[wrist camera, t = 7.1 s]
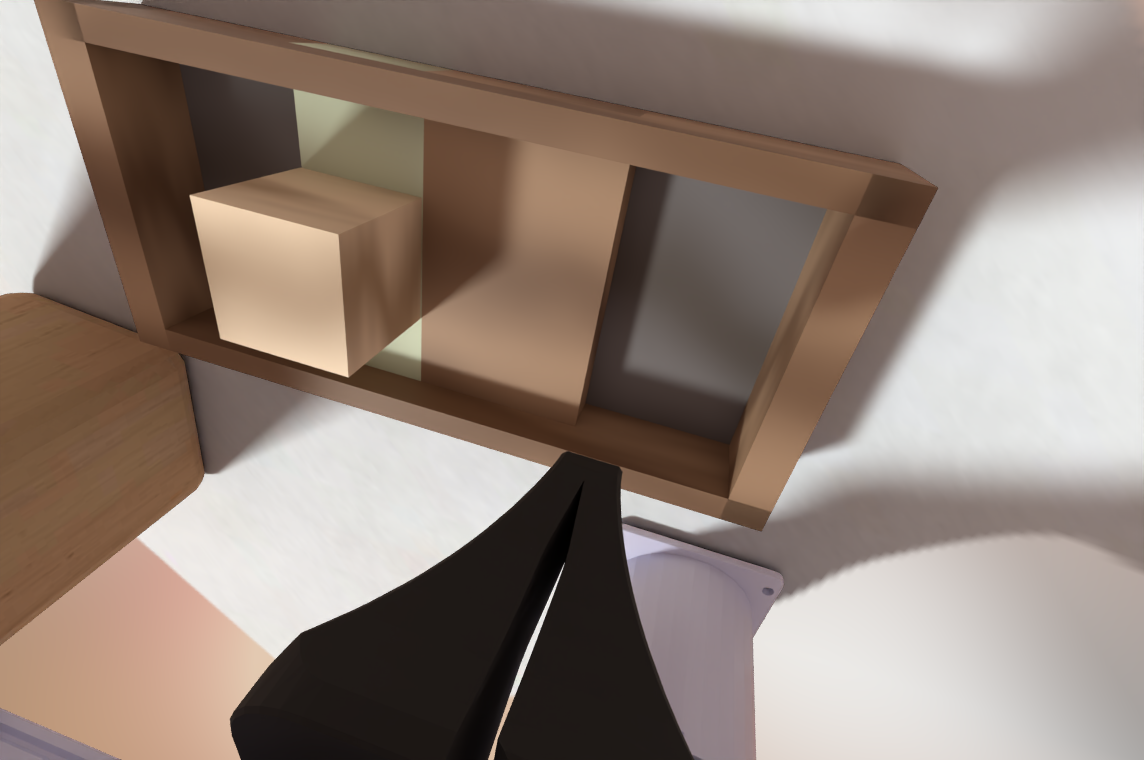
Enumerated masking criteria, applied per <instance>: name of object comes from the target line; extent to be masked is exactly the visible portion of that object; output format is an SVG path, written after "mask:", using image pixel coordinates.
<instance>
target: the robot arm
mask: <svg viewBox="0 0 1144 760" xmlns="http://www.w3.org/2000/svg"><path fill="white" fill-rule="evenodd" d="M622 473H623V472H622V470H621V468H620V467H619V466H616V465H612V464H609V463H606V462H603V461H599V460H596V459H593V458H589V457H586V456H583V455H579V454H576V453H573V452H569V451H566V452H564V453H562V454H561V455H560V457H559V458H558V460H557V461H556V462H555V463H554V465H553V466H552V467H551V468H550V469H549V470H548V472H547V473H546V474H545V475H544V476H543V477H542V478H541V479H540V480H539V481H538V482H537V483H536V485H535V486H534V487H533V488H532V489H530V490H529V491H528V492H527V493H526V494H525V495H524V496H523V497H522V498H521V499H520V500H519V501H518V502H517V503H516V504H515V505H514V506H513V507H512V508H510V509H509V510H508V511H507V512H506V513H505V514H503V515H502V516H501V517H500V518H499V519H498V520H496V521H495V522H494V523H493V524H492V525H490V526H489V527H488V528H487V529H486V530H484V531H483V532H482V533H481V534H479V535H478V536H477V537H475V538H474V539H473V540H471V541H470V542H469V543H467V544H466V545H464V546H463V547H462V548H460V549H459V550H457V551H456V552H455V553H453V554H452V555H450V556H449V557H447V558H446V559H444V560H443V561H441V562H439V563H438V564H436V565H435V566H433V567H432V568H430V569H428V570H427V571H425V572H424V573H422V574H420V575H419V576H417V577H415V578H414V579H412V580H410V581H408V582H407V583H405V584H403V585H401V586H399V587H397V588H395V589H393V590H392V591H390V592H388V593H386V594H384V595H382V596H380V597H378V598H376V599H375V600H373V601H371V602H369V603H367V604H365V605H363V606H361V607H359V608H357V609H355V610H352V611H350V612H348V613H345V614H343V615H341V616H339V617H336V618H334V619H332V620H330V621H327V622H325V623H323V624H321V625H318V626H316V627H314V628H311V629H309V630H307V631H304V632H302V633H301V634H300V635H299V636H298V637H297V638H295V639H294V641H293V642H292V643H291V644H290V645H289V646H288V647H287V648H286V649H285V650H284V651H283V652H282V653H281V654H280V655H279V656H278V657H277V658H276V659H275V660H274V661H273V662H272V663H271V664H270V666H269V667H268V668H267V669H266V671H265V672H264V673H263V674H262V676H261V677H260V678H259V679H258V681H257V682H256V683H255V685H254V686H253V687H252V688H251V690H250V691H249V692H248V694H247V695H246V696H245V698H244V699H243V700H242V701H241V703H240V704H239V705H238V707H237V708H236V710H235V711H234V712H233V714H232V716H231V718H230V725H231V732H232V737H233V740H234V742H235V745H236V748H237V750H238V753H239V756H240V758H241V760H488V758H489V755H490V752H491V749H492V746H493V743H494V740H495V737H496V734H497V731H498V728H499V725H500V722H501V719H502V716H503V713H504V710H505V707H506V704H507V701H508V698H509V696H510V693H511V690H512V687H513V684H514V681H515V678H516V675H517V672H518V669H519V666H520V664H521V661H522V659H523V656H524V654H525V651H526V649H527V646H528V644H529V642H530V639H531V637H532V635H533V633H534V630H535V628H536V626H537V624H538V621H539V619H540V617H541V615H542V612H543V610H544V608H545V606H546V603H547V601H548V599H549V597H550V594H551V592H552V590H553V588H554V585H555V583H556V581H557V578H558V576H559V574H560V572H561V569H562V567H563V565H564V568H563V570H562V573H561V576H560V579H559V581H558V584H557V587H556V590H555V592H554V595H553V598H552V601H551V603H550V606H549V609H548V611H547V614H546V617H545V619H544V622H543V625H542V628H541V630H540V633H539V635H538V638H537V641H536V643H535V646H534V649H533V651H532V654H531V656H530V659H529V662H528V664H527V667H526V669H525V672H524V675H523V677H522V680H521V682H520V685H519V687H518V690H517V692H516V695H515V697H514V700H513V702H512V705H511V707H510V710H509V712H508V715H507V718H506V720H505V722H504V725H503V727H502V730H501V732H500V735H499V737H498V741H497V746H496V752H495V757H494V760H756V740H755V704H754V666H753V637H754V635H755V634H756V632H757V630H758V629H759V627H760V625H761V623H762V622H763V620H764V619H765V617H766V615H767V613H768V612H769V610H770V608H771V607H772V605H773V603H774V602H775V600H776V598H777V597H778V595H779V593H780V592H781V590H782V588H783V586H784V581H783V577H782V575H781V574H780V573H778V572H776V571H773V570H770V569H766V568H763V567H760V566H757V565H754V564H751V563H747V562H744V561H741V560H738V559H735V558H732V557H728V556H725V555H722V554H719V553H716V552H712V551H709V550H706V549H703V548H700V547H697V546H693V545H690V544H687V543H684V542H681V541H678V540H674V539H671V538H668V537H665V536H662V535H658V534H655V533H652V532H649V531H646V530H643V529H639V528H636V527H633V526H630V525H627V524H622V519H621V479H622ZM564 563H565V564H564ZM766 587H768V588H766ZM0 760H120V759H118V758H115V757H113V756H111V755H109V754H106V753H104V752H102V751H99V750H97V749H95V748H92V747H90V746H88V745H85V744H83V743H81V742H78V741H76V740H74V739H71V738H69V737H67V736H64V735H62V734H60V733H57V732H55V731H52V730H50V729H48V728H45V727H43V726H41V725H39V724H36V723H34V722H32V721H29V720H27V719H24V718H22V717H20V716H17V715H15V714H13V713H11V712H8V711H6V710H4V709H1V708H0Z"/></svg>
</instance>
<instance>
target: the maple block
mask: <svg viewBox="0 0 1144 760" xmlns="http://www.w3.org/2000/svg"><path fill="white" fill-rule="evenodd" d="M190 199H191V204H192V209H193V213H194V218H195V223H196V227H197V232H198V237H199V241H200V246H201V251H202V255H203V260H204V265H205V269H206V274H207V278H208V283H209V288H210V292H211V297H212V302H213V306H214V311H215V316H216V320H217V325H218V330H219V334H220V339H223V340H226V341H229V342H233V343H236V344H239V345H243V346H246V347H249V348H253V349H256V350H259V351H263V352H266V353H269V354H272V355H276V356H279V357H282V358H286V359H289V360H292V361H296V362H299V363H302V364H306V365H309V366H312V367H315V368H319V369H322V370H325V371H329V372H332V373H335V374H339V375H342V376H345V377H350V376H351V375H352V374H353V373H355V372H356V371H357V370H358V369H360V368H361V367H362V366H363V365H364V364H366V363H367V362H368V361H369V360H371V359H372V358H373V357H374V356H375V355H377V354H378V353H379V352H380V351H382V350H383V349H384V348H385V347H386V346H388V345H389V344H390V343H391V342H393V341H394V340H395V339H396V338H397V337H399V336H400V335H401V334H402V333H404V332H405V331H406V330H407V329H408V328H410V327H411V326H412V325H413V324H415V323H416V322H417V321H418V320H419V319H420V304H421V231H422V198H421V197H417V196H413V195H409V194H405V193H401V192H397V191H393V190H389V189H385V188H381V187H377V186H373V185H369V184H365V183H361V182H357V181H353V180H349V179H345V178H341V177H337V176H333V175H329V174H325V173H321V172H317V171H313V170H309V169H305V168H297V169H292V170H288V171H284V172H280V173H276V174H272V175H268V176H264V177H260V178H256V179H252V180H248V181H244V182H240V183H236V184H232V185H228V186H224V187H220V188H216V189H212V190H208V191H204V192H200V193H196V194H192V195H190Z"/></svg>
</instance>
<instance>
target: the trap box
mask: <svg viewBox="0 0 1144 760" xmlns="http://www.w3.org/2000/svg"><path fill="white" fill-rule="evenodd" d="M34 2H35V5H36V9H37V12H38V15H39V18H40V21H41V25H42V28H43V31H44V34H45V37H46V41H47V44H48V47H49V50H50V53H51V57H52V60H53V63H54V66H55V69H56V73H57V76H58V79H59V82H60V86H61V89H62V92H63V95H64V98H65V102H66V105H67V108H68V111H69V114H70V118H71V121H72V124H73V127H74V130H75V134H76V137H77V140H78V143H79V146H80V150H81V153H82V156H83V159H84V162H85V166H86V169H87V172H88V175H89V179H90V182H91V185H92V188H93V191H94V195H95V198H96V201H97V204H98V207H99V211H100V214H101V217H102V220H103V223H104V227H105V230H106V233H107V236H108V239H109V243H110V246H111V249H112V252H113V256H114V259H115V262H116V265H117V268H118V272H119V275H120V278H121V281H122V284H123V288H124V291H125V294H126V297H127V300H128V304H129V307H130V310H131V313H132V316H133V320H134V323H135V326H136V329H137V333H138V336H139V339H140V341H141V342H144V343H147V344H151V345H154V346H157V347H160V348H164V349H167V350H170V351H174V352H177V353H180V354H183V355H187V356H190V357H193V358H196V359H200V360H203V361H206V362H209V363H213V364H216V365H219V366H222V367H226V368H229V369H232V370H236V371H239V372H242V373H245V374H249V375H252V376H255V377H258V378H262V379H265V380H268V381H271V382H275V383H278V384H281V385H285V386H288V387H291V388H294V389H298V390H301V391H304V392H307V393H311V394H314V395H317V396H320V397H324V398H327V399H330V400H333V401H337V402H340V403H343V404H347V405H350V406H353V407H356V408H360V409H363V410H366V411H369V412H373V413H376V414H379V415H382V416H386V417H389V418H392V419H396V420H399V421H402V422H405V423H409V424H412V425H415V426H418V427H422V428H425V429H428V430H431V431H435V432H438V433H441V434H444V435H448V436H451V437H454V438H458V439H461V440H464V441H467V442H471V443H474V444H477V445H480V446H484V447H487V448H490V449H493V450H497V451H500V452H503V453H507V454H510V455H513V456H516V457H520V458H523V459H526V460H529V461H533V462H536V463H539V464H542V465H546V466H549V467H552V466H553V465H554V463H555V462H556V461H557V460H558V458H559V457H560V455H561V454H562V453H564V452H566V451H569V452H573V453H576V454H579V455H583V456H586V457H589V458H593V459H596V460H599V461H603V462H606V463H609V464H612V465H616V466H619V467H620V468H621V470H622V472H623V473H622V479H621V489H624V490H627V491H631V492H634V493H637V494H640V495H644V496H647V497H650V498H653V499H657V500H660V501H663V502H666V503H670V504H673V505H676V506H680V507H683V508H686V509H689V510H693V511H696V512H699V513H702V514H706V515H709V516H712V517H715V518H719V519H722V520H725V521H728V522H732V523H735V524H738V525H742V526H745V527H748V528H751V529H755V530H758V531H762V529H763V527H764V526H765V524H766V522H767V520H768V518H769V516H770V514H771V512H772V510H773V508H774V506H775V504H776V502H777V500H778V498H779V496H780V494H781V492H782V491H783V489H784V487H785V485H786V483H787V481H788V479H789V477H790V475H791V473H792V471H793V469H794V467H795V465H796V463H797V461H798V459H799V458H800V456H801V454H802V452H803V450H804V448H805V446H806V444H807V442H808V440H809V438H810V436H811V434H812V432H813V430H814V428H815V426H816V425H817V423H818V421H819V419H820V417H821V415H822V413H823V411H824V409H825V407H826V405H827V403H828V401H829V399H830V397H831V395H832V393H833V391H834V390H835V388H836V386H837V384H838V382H839V380H840V378H841V376H842V374H843V372H844V370H845V368H846V366H847V364H848V362H849V360H850V358H851V357H852V355H853V353H854V351H855V349H856V347H857V345H858V343H859V341H860V339H861V337H862V335H863V333H864V331H865V329H866V327H867V325H868V323H869V322H870V320H871V318H872V316H873V314H874V312H875V310H876V308H877V306H878V304H879V302H880V300H881V298H882V296H883V294H884V292H885V290H886V289H887V287H888V285H889V283H890V281H891V279H892V277H893V275H894V273H895V271H896V269H897V267H898V265H899V263H900V261H901V259H902V257H903V255H904V254H905V252H906V250H907V248H908V246H909V244H910V242H911V240H912V238H913V236H914V234H915V232H916V230H917V228H918V226H919V224H920V222H921V221H922V219H923V217H924V215H925V213H926V211H927V209H928V207H929V205H930V203H931V201H932V199H933V197H934V195H935V193H936V191H937V189H938V187H936V186H935V185H933V184H931V183H930V182H928V181H927V180H925V179H924V178H922V177H921V176H919V175H917V174H916V173H914V172H913V171H911V170H910V169H908V168H906V167H905V166H903V165H902V164H898V163H894V162H889V161H884V160H879V159H875V158H870V157H865V156H860V155H856V154H851V153H846V152H841V151H837V150H832V149H827V148H822V147H818V146H813V145H808V144H803V143H799V142H794V141H789V140H784V139H780V138H775V137H770V136H765V135H761V134H756V133H751V132H746V131H741V130H737V129H732V128H727V127H722V126H718V125H713V124H708V123H703V122H699V121H694V120H689V119H684V118H680V117H675V116H670V115H665V114H661V113H656V112H651V111H646V110H642V109H637V108H632V107H627V106H623V105H618V104H613V103H608V102H604V101H599V100H594V99H589V98H584V97H580V96H575V95H570V94H565V93H561V92H556V91H551V90H546V89H542V88H537V87H532V86H527V85H523V84H518V83H513V82H508V81H504V80H499V79H494V78H489V77H485V76H480V75H475V74H470V73H466V72H461V71H456V70H451V69H447V68H442V67H437V66H432V65H427V64H423V63H418V62H413V61H408V60H404V59H399V58H394V57H389V56H385V55H380V54H375V53H370V52H366V51H361V50H356V49H351V48H347V47H342V46H337V45H332V44H328V43H323V42H318V41H313V40H309V39H304V38H299V37H294V36H290V35H285V34H280V33H275V32H270V31H266V30H261V29H256V28H251V27H247V26H242V25H237V24H232V23H228V22H223V21H218V20H213V19H209V18H204V17H199V16H194V15H190V14H185V13H180V12H175V11H171V10H166V9H161V8H156V7H152V6H147V5H142V4H134V3H124V2H113V1H102V0H34ZM297 168H305V169H309V170H313V171H317V172H321V173H325V174H329V175H333V176H337V177H341V178H345V179H349V180H353V181H357V182H361V183H365V184H369V185H373V186H377V187H381V188H385V189H389V190H393V191H397V192H401V193H405V194H409V195H413V196H417V197H421V198H422V231H421V304H420V319H419V320H418V321H417V322H416V323H415V324H413V325H412V326H411V327H410V328H408V329H407V330H406V331H405V332H404V333H402V334H401V335H400V336H399V337H397V338H396V339H395V340H394V341H393V342H391V343H390V344H389V345H388V346H386V347H385V348H384V349H383V350H382V351H380V352H379V353H378V354H377V355H375V356H374V357H373V358H372V359H371V360H369V361H368V362H367V363H366V364H364V365H363V366H362V367H361V368H360V369H358V370H357V371H356V372H355V373H353V374H352V375H351V376H350V377H345V376H342V375H339V374H335V373H332V372H329V371H325V370H322V369H319V368H315V367H312V366H309V365H306V364H302V363H299V362H296V361H292V360H289V359H286V358H282V357H279V356H276V355H272V354H269V353H266V352H263V351H259V350H256V349H253V348H249V347H246V346H243V345H239V344H236V343H233V342H229V341H226V340H223V339H220V334H219V330H218V325H217V320H216V316H215V311H214V306H213V302H212V297H211V292H210V288H209V283H208V278H207V274H206V269H205V265H204V260H203V255H202V251H201V246H200V241H199V237H198V232H197V227H196V223H195V218H194V213H193V209H192V204H191V199H190V195H192V194H196V193H200V192H204V191H208V190H212V189H216V188H220V187H224V186H228V185H232V184H236V183H240V182H244V181H248V180H252V179H256V178H260V177H264V176H268V175H272V174H276V173H280V172H284V171H288V170H292V169H297Z"/></svg>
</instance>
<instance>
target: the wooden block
mask: <svg viewBox="0 0 1144 760" xmlns="http://www.w3.org/2000/svg"><path fill="white" fill-rule="evenodd" d="M204 474H205V473H204V467H203V462H202V456H201V451H200V445H199V440H198V434H197V429H196V423H195V418H194V412H193V406H192V401H191V395H190V390H189V384H188V379H187V373H186V368H185V362H184V361H183V359H182V358H181V356H180V355H179V353H177V352H174V351H170V350H167V349H164V348H160V347H157V346H154V345H151V344H147V343H144V342H141V341H140V339H139V336H138V333H135V332H133V331H130V330H128V329H125V328H122V327H120V326H117V325H115V324H112V323H109V322H107V321H104V320H102V319H99V318H97V317H94V316H91V315H89V314H86V313H84V312H81V311H78V310H76V309H73V308H71V307H68V306H65V305H63V304H60V303H58V302H55V301H52V300H50V299H47V298H45V297H42V296H39V295H37V294H34V293H10V294H4V295H1V296H0V645H1V644H3V643H4V642H5V641H7V640H8V639H9V638H10V637H12V636H13V635H14V634H15V633H16V632H18V631H19V630H20V629H22V628H23V627H24V626H25V625H27V624H28V623H29V622H30V621H32V620H33V619H34V618H35V617H37V616H38V615H39V614H40V613H42V612H43V611H44V610H46V608H48V607H49V606H50V605H52V604H53V603H54V602H56V601H57V600H58V599H59V598H61V597H62V596H63V595H64V594H66V593H67V592H68V591H69V590H71V589H72V588H73V587H74V586H76V585H77V584H78V583H79V582H81V581H82V580H83V579H85V578H86V577H87V576H88V575H90V574H91V573H92V572H93V571H95V570H96V569H97V568H98V567H99V566H101V565H102V564H103V563H105V562H106V561H107V560H108V559H110V558H111V557H112V556H113V555H115V554H116V553H117V552H118V551H120V550H121V549H122V548H123V547H125V546H126V545H127V544H128V543H130V542H131V541H132V540H134V539H135V538H136V537H137V536H139V535H140V534H141V533H142V532H144V531H145V530H146V529H147V528H149V527H150V526H151V525H152V524H154V523H155V522H156V521H157V520H159V519H160V518H161V517H162V516H164V515H165V514H166V513H168V512H169V511H170V510H171V509H173V508H174V507H175V506H176V505H178V504H179V503H180V502H181V501H183V500H184V499H185V498H186V497H188V496H189V495H190V494H191V493H193V492H194V491H195V490H196V489H197V488H198V486H199V485H200V483H201V482H202V480H203V477H204Z"/></svg>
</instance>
